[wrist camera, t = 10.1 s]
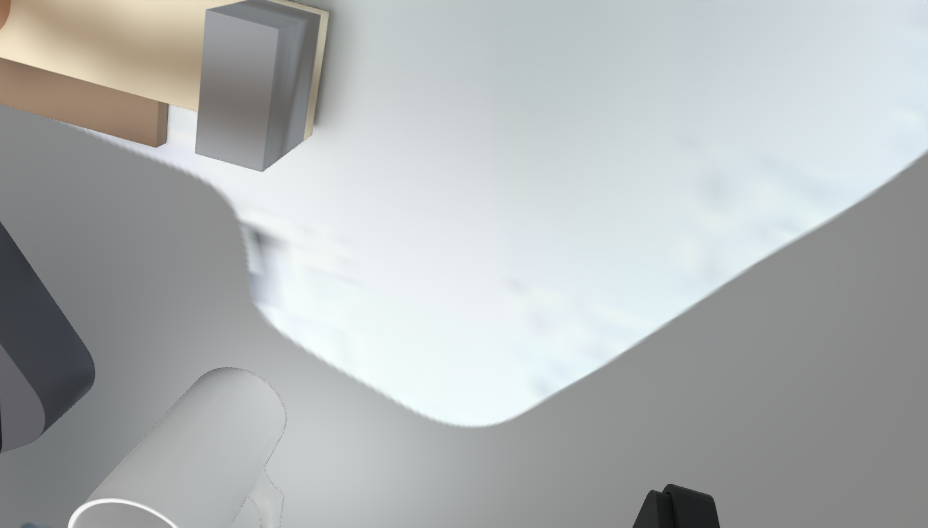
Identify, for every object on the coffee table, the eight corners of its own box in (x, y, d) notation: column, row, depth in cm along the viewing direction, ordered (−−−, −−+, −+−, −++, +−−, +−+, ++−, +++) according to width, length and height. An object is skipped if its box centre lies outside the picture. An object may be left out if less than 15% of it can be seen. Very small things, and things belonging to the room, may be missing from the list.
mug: (167, 394, 47) (40, 534, 36) (237, 343, 45) (124, 476, 34) (274, 502, 50) (185, 664, 39) (347, 460, 47) (274, 619, 36)
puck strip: (-112, -107, 36) (-242, -111, 30) (329, 12, 35) (278, 29, 29) (-99, 21, 38) (-217, 38, 33) (311, 134, 37) (262, 172, 32)
